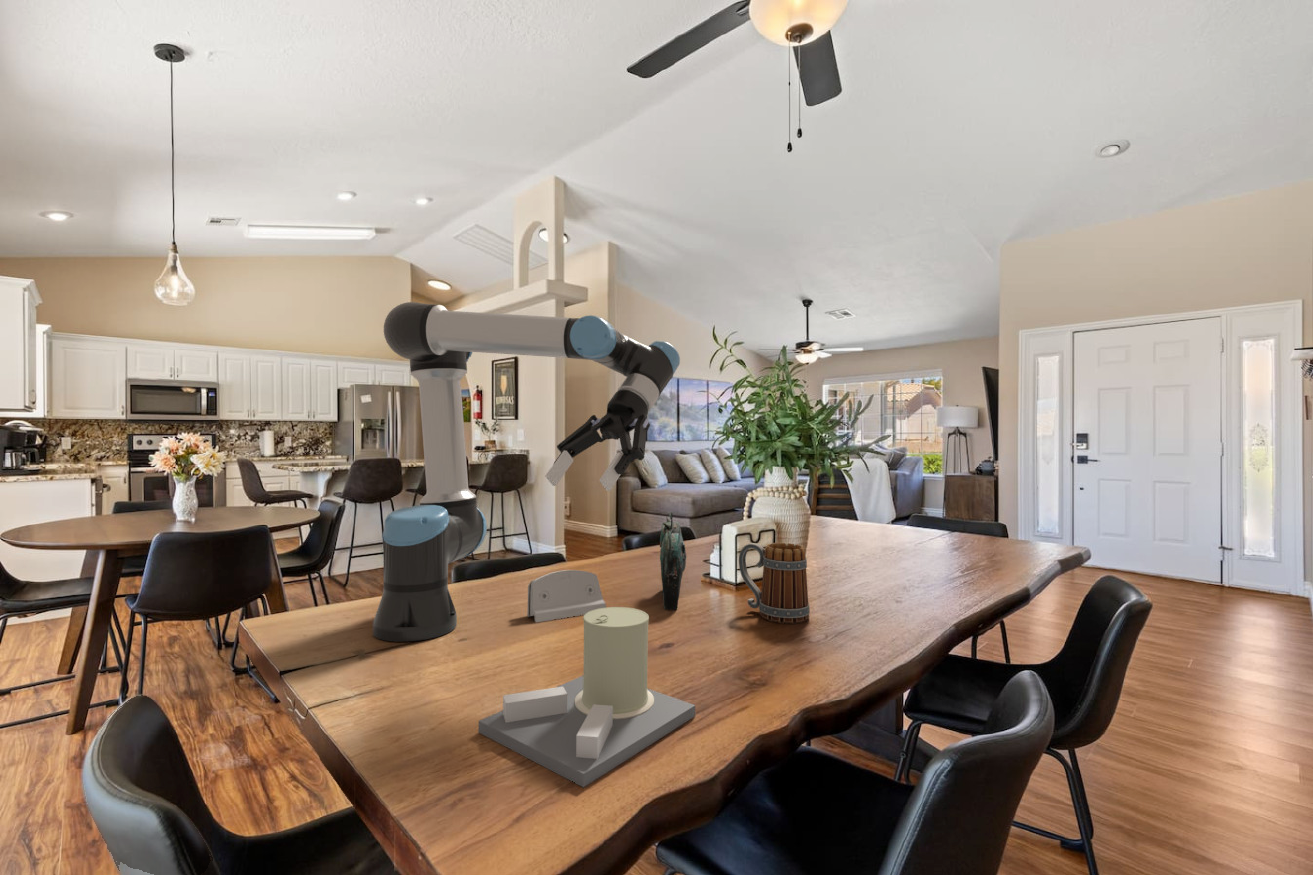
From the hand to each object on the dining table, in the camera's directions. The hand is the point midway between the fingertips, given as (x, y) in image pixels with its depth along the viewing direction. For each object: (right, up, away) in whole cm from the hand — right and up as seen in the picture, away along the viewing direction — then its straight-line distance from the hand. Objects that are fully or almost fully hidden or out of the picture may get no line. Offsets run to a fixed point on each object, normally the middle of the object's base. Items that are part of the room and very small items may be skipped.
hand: (576, 483), depth 107 cm
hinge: (-5, -30, +23) cm, 38 cm away
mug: (+39, -30, +23) cm, 55 cm away
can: (+8, -28, -23) cm, 37 cm away
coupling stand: (+5, -30, -26) cm, 40 cm away
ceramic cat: (+18, -30, +35) cm, 49 cm away
